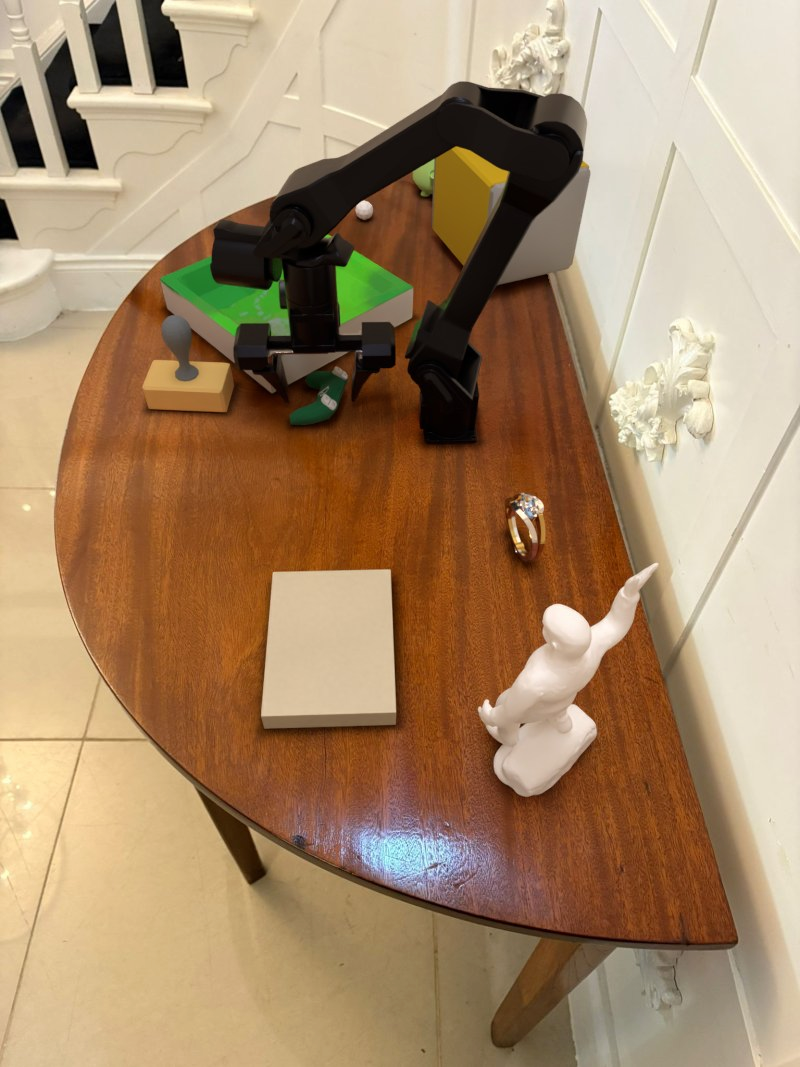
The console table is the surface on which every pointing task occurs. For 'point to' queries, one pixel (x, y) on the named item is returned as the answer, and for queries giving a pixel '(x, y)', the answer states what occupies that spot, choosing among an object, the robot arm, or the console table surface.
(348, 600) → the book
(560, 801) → the console table surface
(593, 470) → the console table surface
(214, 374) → the rubber stamp
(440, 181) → the alarm clock
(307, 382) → the green curved piece
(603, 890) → the console table surface
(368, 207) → the polyhedron
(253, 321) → the tray
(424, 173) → the teapot
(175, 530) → the console table surface
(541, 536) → the ring
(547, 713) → the figurine
